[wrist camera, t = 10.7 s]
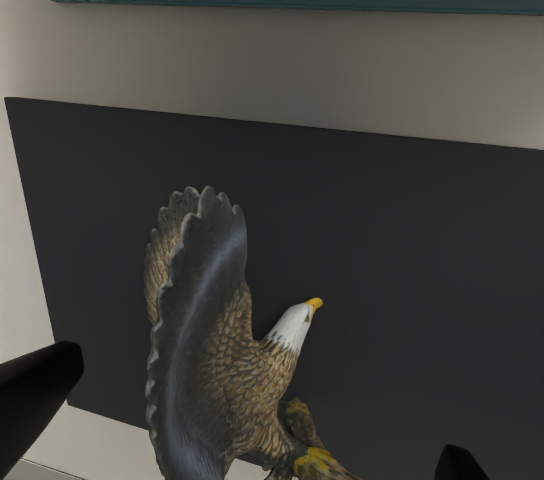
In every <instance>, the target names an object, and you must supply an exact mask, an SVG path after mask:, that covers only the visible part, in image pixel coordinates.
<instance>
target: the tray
mask: <svg viewBox="0 0 544 480" xmlns="http://www.w3.org/2000/svg"><path fill="white" fill-rule="evenodd" d="M52 1H55V2H79V3H115V4H151V5H188V6H224V7H260V8H297V9H333V10H369V11H406V12H442V13H478V14H515V15H544V0H52Z"/></svg>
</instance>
